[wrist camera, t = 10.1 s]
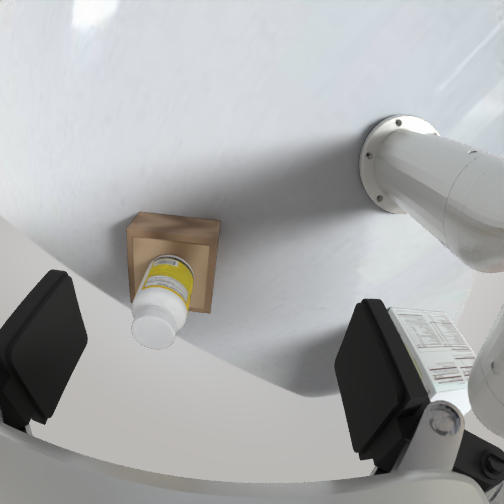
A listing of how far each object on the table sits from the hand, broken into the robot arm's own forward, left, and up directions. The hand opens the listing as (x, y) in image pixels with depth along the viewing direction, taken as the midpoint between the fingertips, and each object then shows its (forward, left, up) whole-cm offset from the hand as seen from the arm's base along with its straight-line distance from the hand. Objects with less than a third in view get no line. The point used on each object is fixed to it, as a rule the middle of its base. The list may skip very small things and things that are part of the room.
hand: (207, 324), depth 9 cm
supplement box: (-33, +25, -27) cm, 49 cm away
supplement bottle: (+5, +13, -22) cm, 26 cm away
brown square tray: (+5, +13, -27) cm, 30 cm away
